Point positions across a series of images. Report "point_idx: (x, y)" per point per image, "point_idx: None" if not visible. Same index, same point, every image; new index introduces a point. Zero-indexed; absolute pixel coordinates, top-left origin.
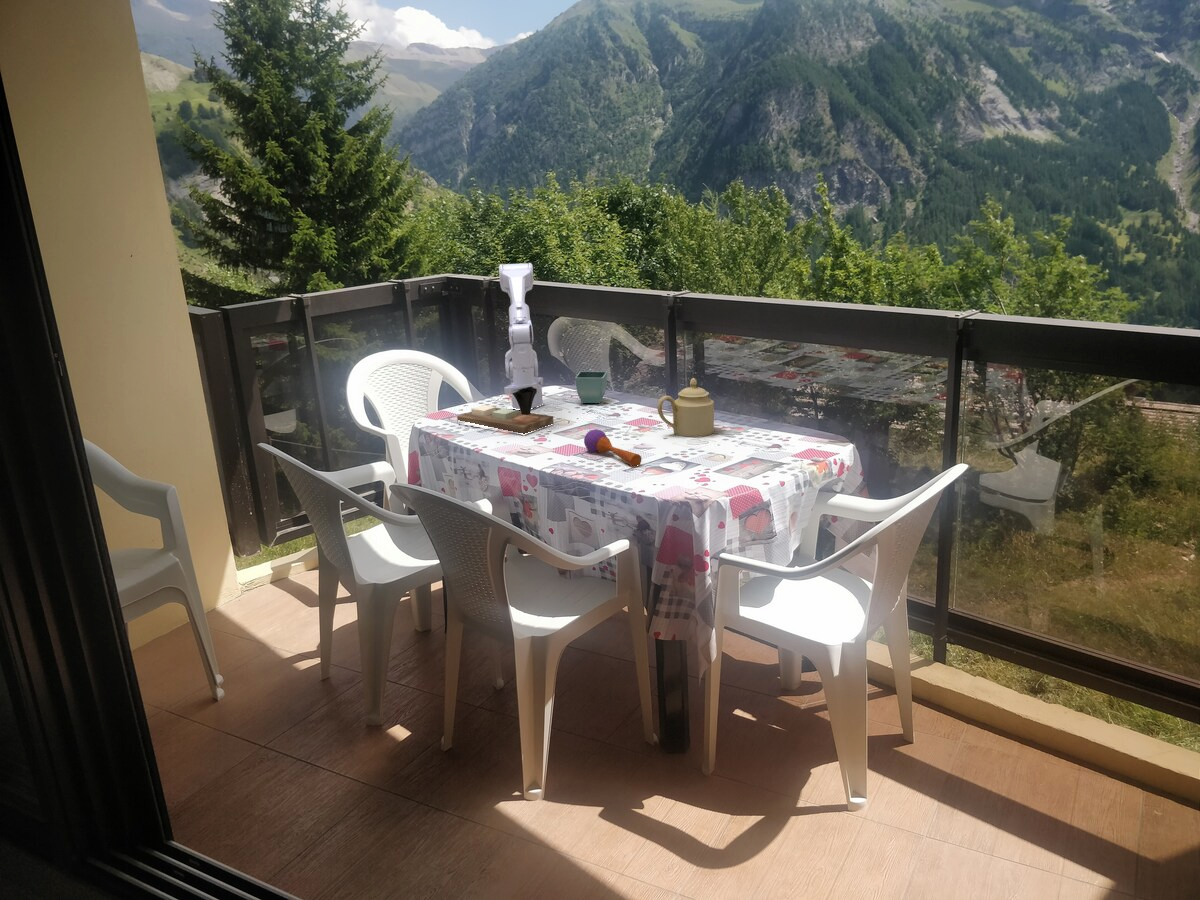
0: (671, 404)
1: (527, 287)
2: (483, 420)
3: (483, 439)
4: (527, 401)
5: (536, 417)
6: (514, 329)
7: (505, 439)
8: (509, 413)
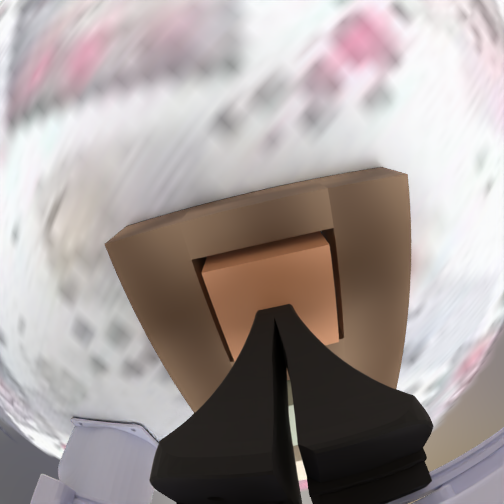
0: None
1: None
2: None
3: (480, 265)
4: (326, 365)
5: (224, 268)
6: None
7: (457, 195)
8: None
